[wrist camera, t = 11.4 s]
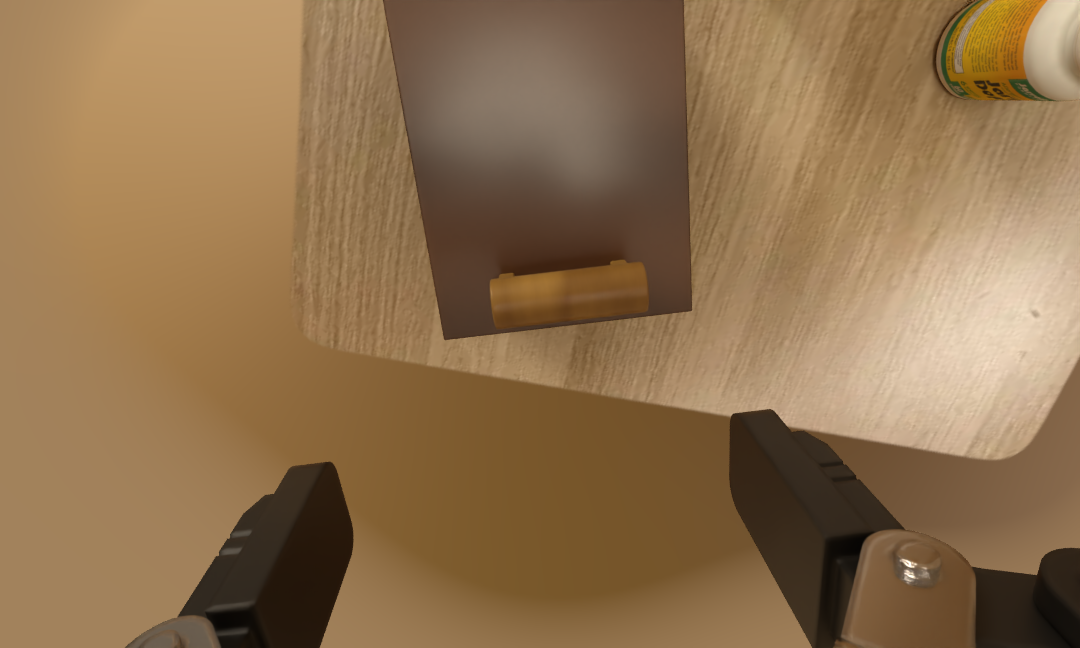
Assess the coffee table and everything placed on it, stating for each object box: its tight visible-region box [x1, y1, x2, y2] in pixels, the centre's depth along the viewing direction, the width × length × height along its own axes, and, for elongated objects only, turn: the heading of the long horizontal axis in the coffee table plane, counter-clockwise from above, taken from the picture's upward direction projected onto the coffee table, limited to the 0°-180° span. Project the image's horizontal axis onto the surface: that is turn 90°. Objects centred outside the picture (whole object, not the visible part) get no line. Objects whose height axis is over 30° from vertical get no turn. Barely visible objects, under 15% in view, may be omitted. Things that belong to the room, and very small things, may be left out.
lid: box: [383, 0, 692, 340], centre depth 23 cm, size 16×12×5 cm
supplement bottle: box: [936, 0, 1080, 101], centre depth 28 cm, size 5×5×10 cm
